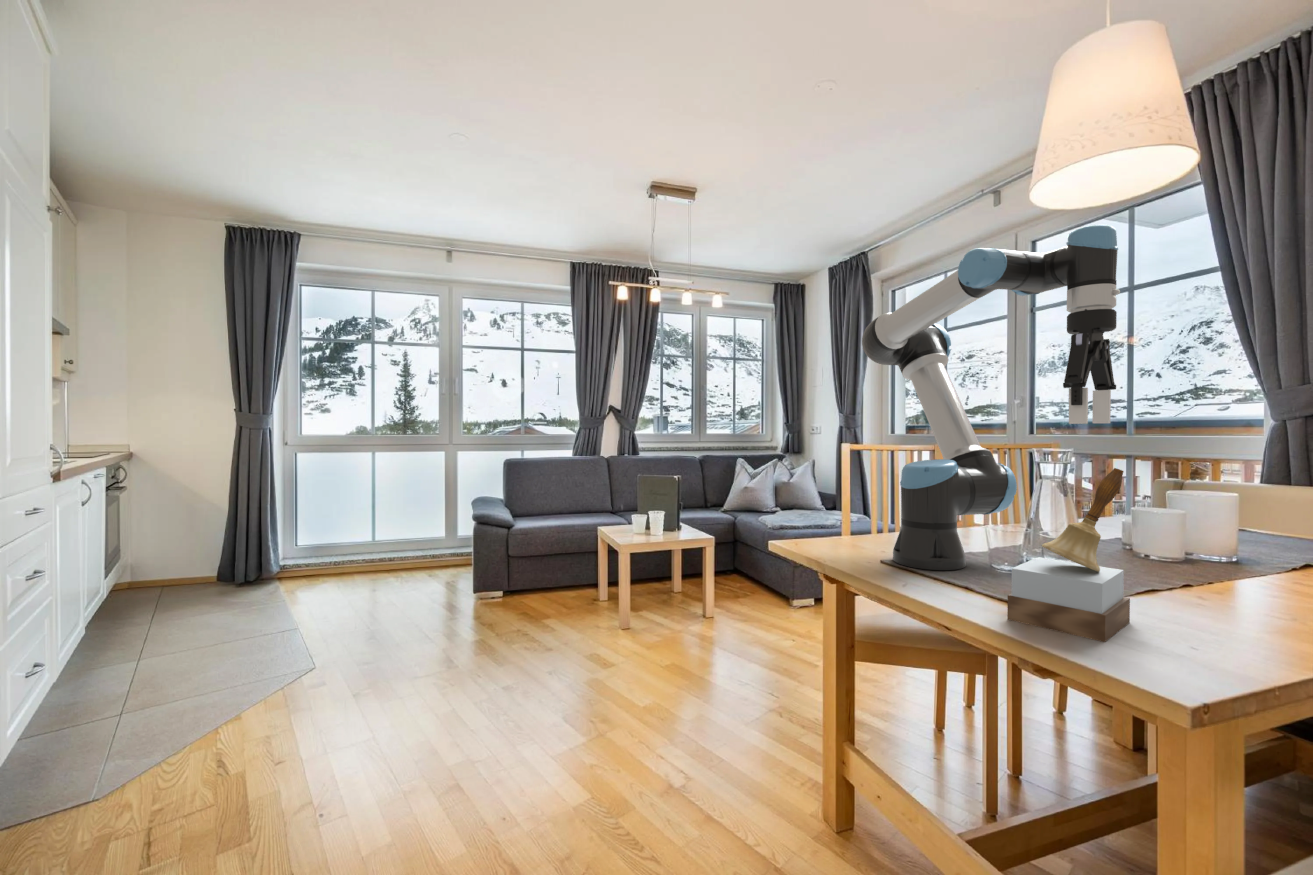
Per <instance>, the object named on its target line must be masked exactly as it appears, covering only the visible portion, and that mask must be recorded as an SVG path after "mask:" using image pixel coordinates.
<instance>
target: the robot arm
mask: <svg viewBox="0 0 1313 875" xmlns="http://www.w3.org/2000/svg"><path fill="white" fill-rule="evenodd" d="M1065 244H1066V246H1062V247H1061V248H1058V249H1054V250H1051V251H1047V252H1041V253H1040V252H1033V251H1032V252H1031V251H1021V250H1010V249H1001V248H996V247H987V248H986V247H985V248H984V247H979V248H973V249H971V250H968V251H967V252H966V254H965V255H964V256H963V258H962V259H961V260H960V261H959V264H958V268H957V270H956V271H954V272H952V273H951V274H950V275H948V276H946V277H945V278H943V279H942V280H940V281H939V282H937V283H936V284H934V285H933V286H931V287H930V288H927V290H925V291H923V292H922V293H920V294H919V295H918V296H916V297H914V298H913V299H911V300H910V301H908V302H906V303H904V305H902V306H900V307H899V308H897V309H895V310H894V311H893V312H885V313H882V314H880V315H879V316H878V317H876V318H875V319H873V320H872V321H871V322H870V323H869V324H868V325H867V326H866V328H865V329H864V331H863V334H862V338H861V346H862V349H863V352H864V353H865V355H866V357H867V358H868V359H870V360H871V361H872V362H874V363H876V364H879V365H883V366H898V368H899V370H900V373H901V375H902V377H903V378H904V379H906V380H908V381H911V383H912V385H913V387H914V390H915V393H916V395H917V398H918V401H919V402H920V405H921V408H922V410H923V411H924V416H926V420H927V422H928V424H929V427H930V429H931V432H932V434H933V436H934V439H935V442H936V443H937V446H938V448H939V451H940V453H941V456H942V458H943V459H939V458H938V459H937V458H936V459H931V460H929V459H925V460H918V461H913V462H909V463H907V464H905V465H904V466H903V467H902V469H901V475H900V477H901V478H900V482H899V483H900V484H899V485H900V490H901V491H900V499H901V500H900V501H901V503H900V514H901V515H900V530H899V533H898V535H897V538H896V541H895V544H894V546H893V550H892V560H893V562H895V563H896V564H899V565H901V566H905V567H909V568H915V569H921V570H930V571H955V570H961V569H964V568H966V567H967V566H966V564H967V562H966V560H967V559H966V558H967V557H966V553H965V550H964V547H963V545H962V541H961V539H960V536H959V532H958V516H968V515H969V516H970V515H971V516H973V515H982V516H983V515H991V514H996V513H1000V512H1002V511H1004V510H1006V509H1008V508H1009V507H1010V506H1011V505H1012V503H1013V502H1014V500H1015V496H1016V495H1017V490H1018V489H1017V488H1018V484H1017V480H1016V479H1017V478H1016V476H1015V473H1014V472H1013V470H1012V469H1011V468H1010V467H1009V466H1006V465H1004V463H999V462H996V459H995V458H994V456H993V452H992V451H991V450H990V449H988V448H985V447H982V446H981V444H980V442H979V439H978V438H977V435H976V433H975V430H974V428H973V426H972V424H971V422H970V419H969V417H968V415H967V412H966V411H965V408H964V405H963V404H962V401H961V400H960V397H959V395H958V393H957V391H956V389H955V386H954V384H953V382H952V379H951V377H950V374H949V372H948V370H947V367H946V366H947V365H948V363H949V356H950V354H951V348H950V347H951V346H952V341H951V337H950V335H949V333H948V331H947V330H946V329H945V328H944V327H943V326H942V325H940V324H939V323H938V322H941V321H942V320H944V319H945V318H947V317H949V316H951V315H953V314H954V313H956V312H958V311H960V310H961V309H963V308H965V307H966V306H968V305H971V304H972V303H974V302H976V301H977V300H979V299H981V298H983V297H985V296H987V295H989V294H991V293H992V292H993V291H996V290H1006V291H1011V292H1013V293H1015V294H1016V295H1017V296H1022V297H1023V296H1025V297H1027V296H1029V295H1035V296H1036V295H1038V294H1040V293H1044V292H1048V291H1053V290H1057V289H1060V288H1063V287H1066V288H1067V289H1066V311H1067V312H1069V314H1068V315H1067V316H1066V333H1067V334H1069V335H1071V337H1070V348H1069V354H1068V360H1067V366H1066V369H1065V376H1064V380H1063V382H1062V387H1063V389H1068V424H1069V425H1072V424H1073V425H1078V424H1079V425H1081V424H1082V425H1088V423H1089V420H1088V419H1089V418H1088V417H1089V416H1088V415H1089V388H1088V387H1087V386H1086V385H1087V382H1088V379H1089V375H1090V374H1091V379H1092V382H1093V386H1094V390H1092V422H1091V423H1092V424H1111V404H1112V403H1111V400H1112V398H1111V397H1112V396H1111V395H1112V394H1111V393H1112V390H1113V391H1115V390H1116V389H1117V384H1116V383H1115V380H1114V371H1113V366H1112V365H1113V364H1112V358H1111V347H1110V343H1111V340H1110V338H1105V337H1104V334H1105V333H1108V332H1112V331H1115V330H1116V329H1117V313H1118V312H1117V311H1116V309H1114V308H1116V306H1117V296H1118V295H1120V294H1121V291H1120V289H1118V288H1117V266H1118V264H1117V263H1118V250H1119V246H1118V237H1117V230H1116V228H1115V227H1114V226H1112V225H1109V224H1094V225H1089V226H1088V225H1087V226H1084V227H1083V226H1082V227H1080V228H1077V229H1074V230H1073V231H1071V232H1070V233H1068V235H1067V241H1066V243H1065Z"/></svg>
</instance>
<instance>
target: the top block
mask: <svg viewBox="0 0 1313 875" xmlns="http://www.w3.org/2000/svg"><path fill="white" fill-rule="evenodd" d="M1098 566H1099V568H1100V571H1099V572H1098V571H1095V570H1092V569H1090V568H1087V567H1085V566H1083V565H1080V564H1078V563H1075V562H1073V561H1067V560H1060V559H1052V558H1046V557H1040V556H1038V557H1037V556H1036V557H1035V558H1032V559H1030V560H1027V561H1025V562H1023V563H1021V564H1019V565H1016V566H1014V567H1012V568H1011V593H1012V596H1015V597H1020V598H1025V599H1030V600H1035V601H1040V602H1045V603H1050V604H1055V605H1060V606H1065V607H1070V608H1075V609H1080V610H1085V611H1090V612H1095V613H1100V614H1103V613H1104V612H1105V611H1107V610H1108V609H1109V608H1111V607H1112V606H1113V605H1115V604H1116V603H1117V602H1119V601H1120V600H1121V599H1123V597H1125V596H1124V591H1125V590H1124V589H1125V588H1124V584H1125V583H1124V580H1125V579H1124V577H1125V575H1124V574H1125V570H1124V569H1120V568H1119V569H1118V568H1113V567H1105V566H1101V565H1098Z"/></svg>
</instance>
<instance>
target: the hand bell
mask: <svg viewBox="0 0 1313 875" xmlns="http://www.w3.org/2000/svg"><path fill="white" fill-rule="evenodd" d="M1123 474H1124V470H1122V469H1119V468H1118V467H1117V468H1116V467H1113V469H1112V470H1111V471H1110V472H1109V473H1108V474H1107V475H1105V476H1104V477H1103V478H1102V480H1101V481H1099V484H1098V486H1097V489H1096V492H1095V496H1094V501H1093V504H1092V505H1091V507H1090V509H1089V510H1088V512H1087V514H1085V517H1084V518H1083V519H1082V520H1081V522H1070V523H1069V524H1068V525H1067V526H1066V528H1065V529H1064V530H1063V532H1062V533H1061V534H1060V535H1059V536H1057V537H1055V538H1054V539H1053V540H1051V541H1048V542H1044V543H1042V544H1041V547H1042V548H1044V549H1047V550H1048V551H1050V552H1052V553H1053V554H1056V555H1059V556H1061V557H1063V558H1065V559H1067V560H1068V561H1069V560H1070V562H1074V563H1078V564H1080V565H1083V566H1085V567H1087V568H1090V569H1092V570H1095V571H1098V572H1099V571H1100V568H1099V566H1100V565H1099V564H1098V561H1097V551H1098V547H1099V543H1100V541H1101V538H1102V536H1101V534H1100V533H1099V532H1098V531H1097V529H1096V524H1097V522H1098V521H1099V518H1101V515H1102V513H1103V512H1104V510H1105V508H1106V506H1108V504H1110V502H1112V501H1113V500H1114V499H1115V497H1116V496H1117V495H1118V493H1119V491H1120V489H1121V487H1122V482H1123V481H1122V480H1123Z"/></svg>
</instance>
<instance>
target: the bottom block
mask: <svg viewBox="0 0 1313 875" xmlns="http://www.w3.org/2000/svg"><path fill="white" fill-rule="evenodd" d="M1130 603H1131V599H1130V597H1126V596H1124V597H1123V599H1121V600H1120V601H1119V602H1117V603H1116V604H1115V605H1113V606H1112V607H1111V608H1109V609H1108V610H1107V611H1105V612H1104V613H1103V614H1100V613H1095V612H1090V611H1085V610H1080V609H1075V608H1070V607H1065V606H1060V605H1055V604H1050V603H1045V602H1040V601H1035V600H1030V599H1025V598H1020V597H1015V596H1012V592H1011V593H1009V594H1008V595H1007V614H1006V615H1007V620H1008V621H1012V622H1018V623H1022V624H1026V625H1030V626H1035V627H1039V628H1043V629H1048V630H1052V631H1056V632H1060V633H1064V634H1069V635H1072V636H1077V637H1081V638H1084V639H1085V638H1086V639H1089V640H1090V639H1091V640H1094V641H1099V642H1103V643H1106V642H1108V641H1109V640H1110V639H1111V638H1112V637H1114V636H1115V635H1116V634H1117V633H1119V632H1120V631H1121V630H1122V629H1124V628H1125V627H1126V626H1127V625H1129V624H1130V623H1131V622H1130V618H1131V617H1130V615H1131V611H1130V610H1131V604H1130Z"/></svg>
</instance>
